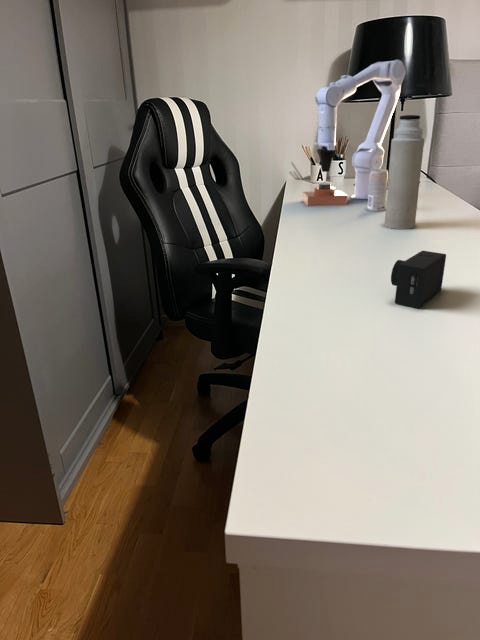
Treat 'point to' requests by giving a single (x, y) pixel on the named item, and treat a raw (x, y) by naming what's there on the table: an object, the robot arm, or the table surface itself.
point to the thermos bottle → (404, 174)
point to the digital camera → (418, 278)
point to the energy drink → (377, 190)
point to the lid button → (324, 186)
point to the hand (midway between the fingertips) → (325, 171)
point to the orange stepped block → (324, 197)
